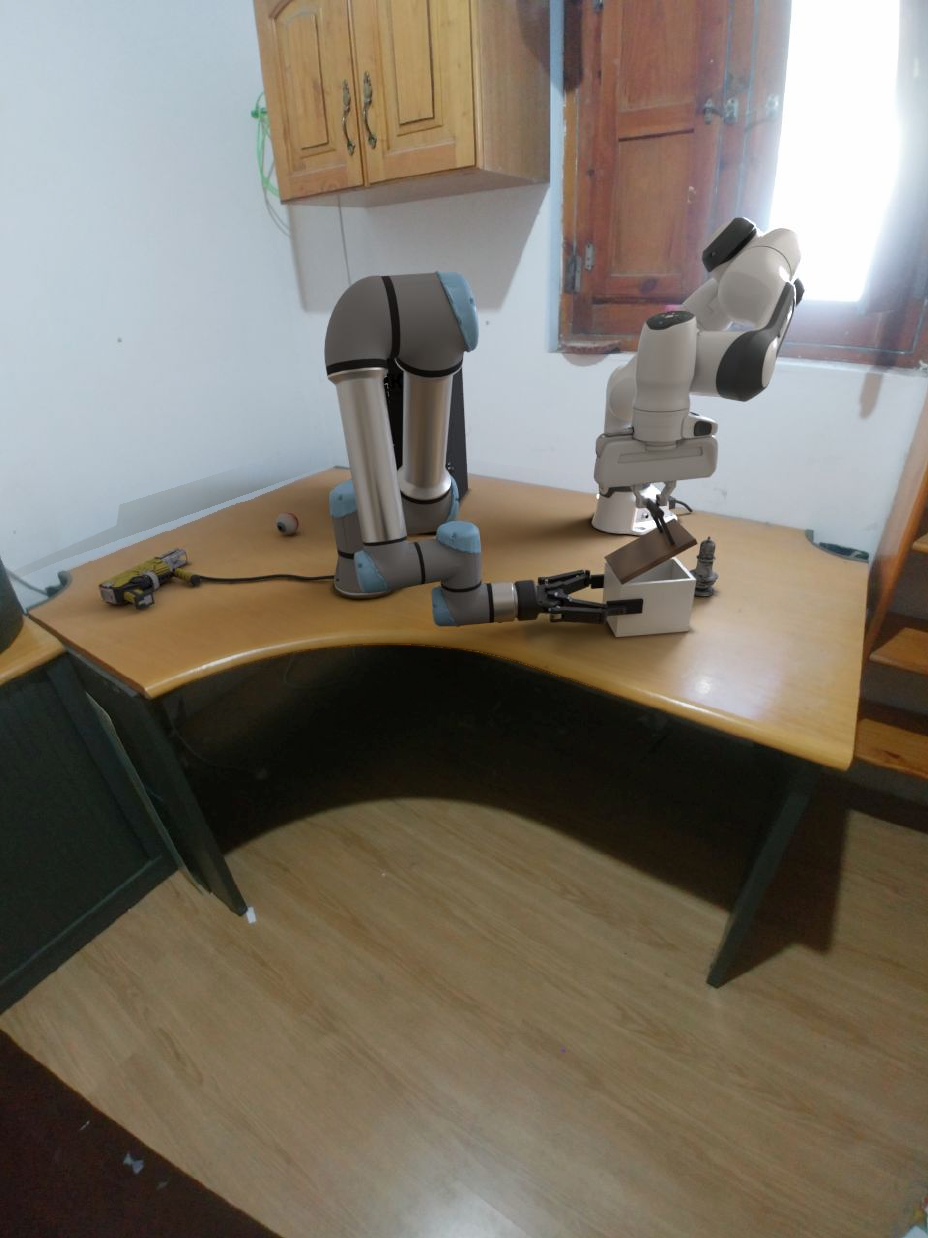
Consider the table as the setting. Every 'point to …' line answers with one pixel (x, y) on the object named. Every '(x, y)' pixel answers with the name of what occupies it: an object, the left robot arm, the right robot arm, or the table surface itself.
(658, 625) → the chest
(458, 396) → the cardboard box
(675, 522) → the lid
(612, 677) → the table surface
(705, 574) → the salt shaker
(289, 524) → the eyeball
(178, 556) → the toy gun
